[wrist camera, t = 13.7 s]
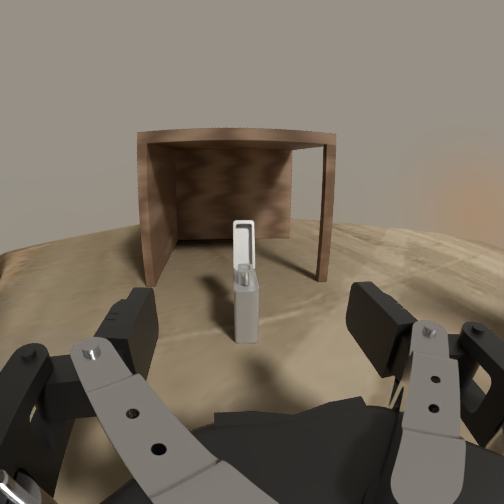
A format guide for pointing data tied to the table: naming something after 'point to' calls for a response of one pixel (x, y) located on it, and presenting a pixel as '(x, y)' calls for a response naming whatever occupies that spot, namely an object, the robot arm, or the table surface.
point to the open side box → (223, 187)
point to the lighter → (245, 283)
